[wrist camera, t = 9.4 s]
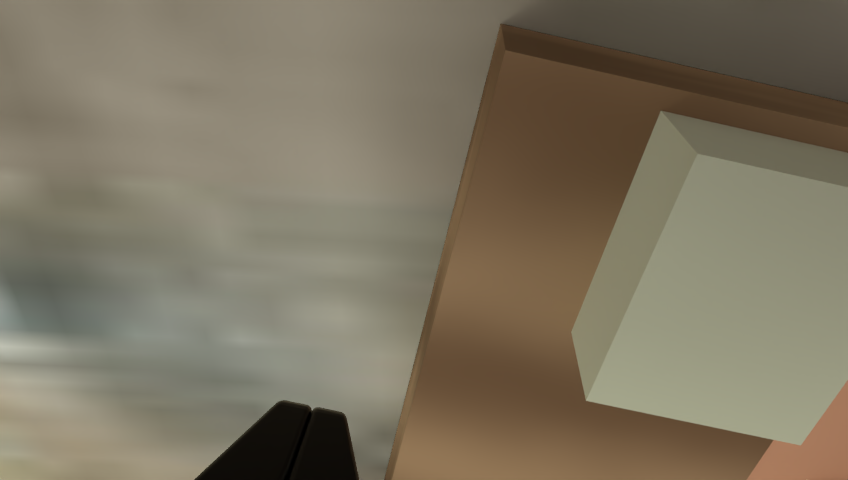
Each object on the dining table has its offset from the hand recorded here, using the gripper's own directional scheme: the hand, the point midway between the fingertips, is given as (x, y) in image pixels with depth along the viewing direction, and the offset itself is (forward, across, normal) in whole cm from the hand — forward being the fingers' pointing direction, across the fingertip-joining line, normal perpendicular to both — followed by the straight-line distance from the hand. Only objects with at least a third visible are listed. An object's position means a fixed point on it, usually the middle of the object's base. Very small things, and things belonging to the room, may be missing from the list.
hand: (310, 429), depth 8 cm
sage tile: (+8, -8, 0) cm, 11 cm away
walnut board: (+10, -7, +5) cm, 14 cm away
